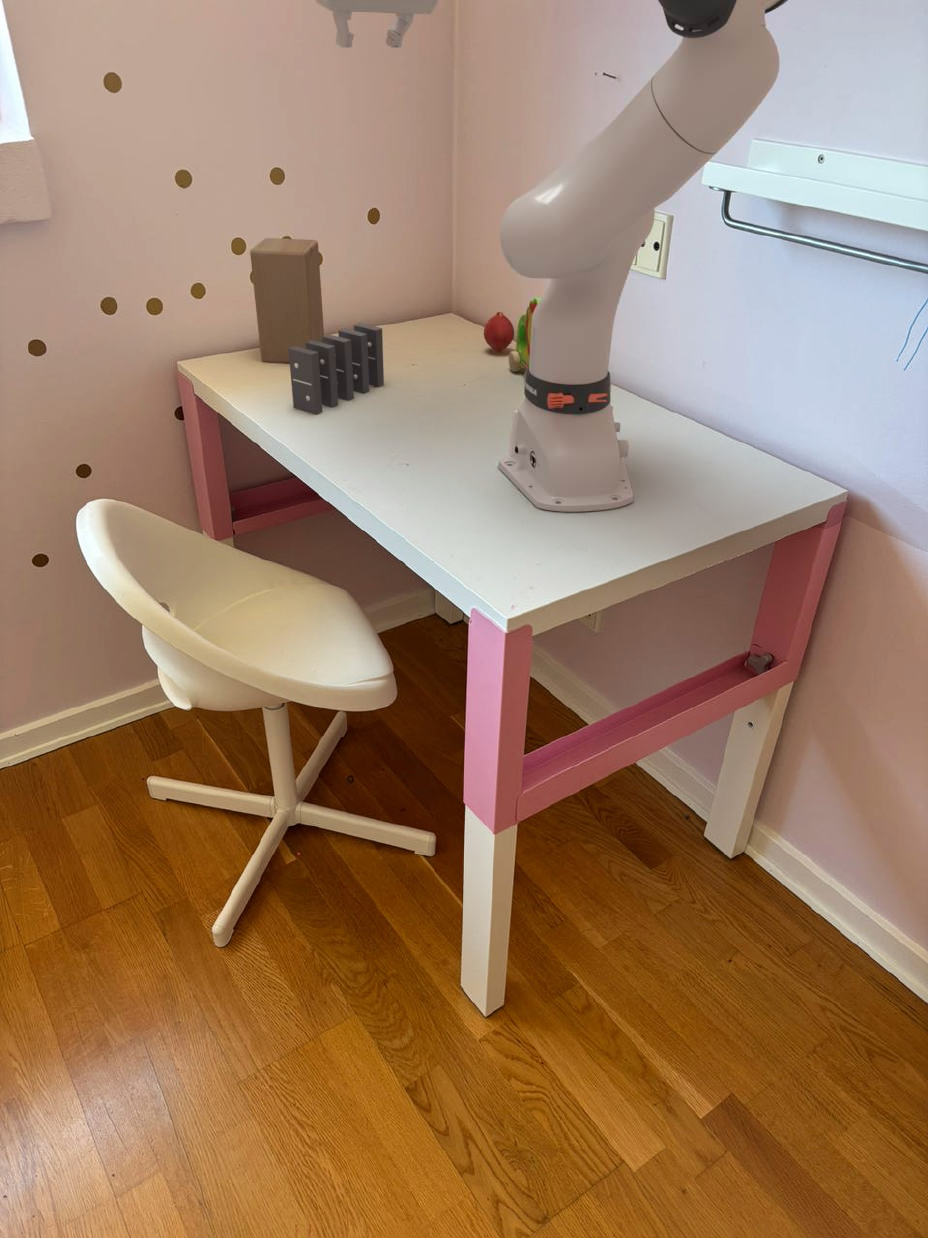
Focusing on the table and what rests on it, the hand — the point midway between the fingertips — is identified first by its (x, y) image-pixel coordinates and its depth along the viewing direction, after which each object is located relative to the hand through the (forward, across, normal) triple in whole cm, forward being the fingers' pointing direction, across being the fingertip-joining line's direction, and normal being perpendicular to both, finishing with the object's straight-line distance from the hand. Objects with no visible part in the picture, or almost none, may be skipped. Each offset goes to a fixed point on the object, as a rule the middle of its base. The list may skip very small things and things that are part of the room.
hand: (368, 45), depth 132 cm
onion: (+49, +35, -13) cm, 62 cm away
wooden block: (+58, +6, +12) cm, 60 cm away
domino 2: (+51, -6, -10) cm, 53 cm away
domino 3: (+51, -2, -9) cm, 52 cm away
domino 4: (+51, +2, -9) cm, 52 cm away
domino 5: (+52, +6, -8) cm, 53 cm away
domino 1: (+51, -10, -10) cm, 53 cm away
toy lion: (+45, +27, -28) cm, 59 cm away
